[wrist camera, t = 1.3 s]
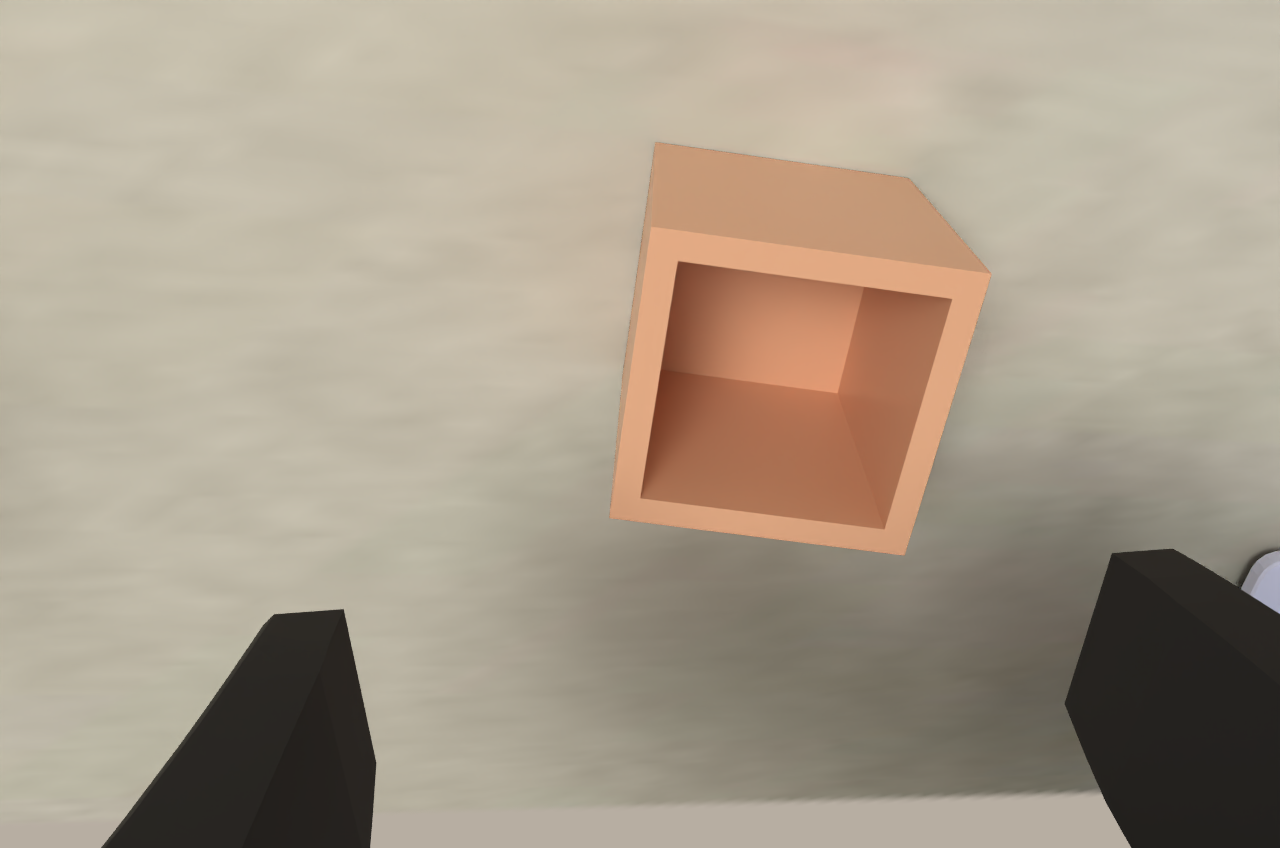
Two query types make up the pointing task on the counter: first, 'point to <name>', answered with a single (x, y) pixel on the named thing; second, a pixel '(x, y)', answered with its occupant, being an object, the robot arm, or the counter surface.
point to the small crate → (789, 350)
